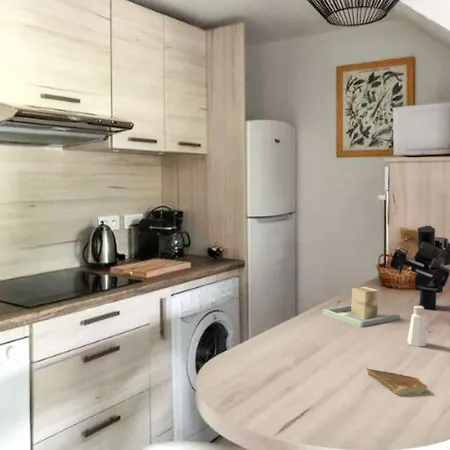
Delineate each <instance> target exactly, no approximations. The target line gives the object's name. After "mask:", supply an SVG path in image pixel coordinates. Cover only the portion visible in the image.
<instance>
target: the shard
mask: <svg viewBox="0 0 450 450" xmlns="http://www.w3.org/2000/svg"><path fill="white" fill-rule="evenodd" d="M366 370H367V371H366V372H367V375H368V376H369V377H371V378H372V379H375V380H376V381H377V382H378V383H381V384H382V385H384V386H385V387H386V388H388V389H389V390H390V391H392V392H393V393H394V394H396V395H397V396H403V395H404V396H405V395H411V394H413V395H414V393H417V394H424V393H425V392H426V390H427V389H428V385H427V384H426V383H424V382H422V381H421V380H420V378H417V377H414V376H413V377H412V376H408V375H404V374H400V373H395V372H388V371H382V370H377V369H371V368H366ZM423 392H424V393H423Z"/></svg>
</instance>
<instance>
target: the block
mask: <svg viewBox="0 0 450 450" xmlns="http://www.w3.org/2000/svg"><path fill="white" fill-rule="evenodd" d="M378 303H379V289H375V288H372V287H371V288H370V287H368V286H360V287H353V288H352V289H351V304H350V305H351V311H350V314H351V315H353V316H356V317H359V318H362V319H368V318H373V317H377V312H378Z"/></svg>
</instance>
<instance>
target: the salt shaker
mask: <svg viewBox="0 0 450 450" xmlns="http://www.w3.org/2000/svg"><path fill="white" fill-rule="evenodd" d="M424 310H425V308H424V307H423V306H418V305H414V306H413V314H411V318H410V322H409V330H408V334H407V340H406V341H407V342H406V343H407V344H408V345H410V346H413V347H426V346H427V344H428V341H427V340H428V339H427V323H426V322H427V321H426V319H427V318H426V315H425V314H424V312H425V311H424Z"/></svg>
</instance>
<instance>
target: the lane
mask: <svg viewBox="0 0 450 450" xmlns="http://www.w3.org/2000/svg"><path fill="white" fill-rule="evenodd" d="M349 311H350V312H351V304H349V305H343V306H337V307H331V308H326V309H325V308H324V309H322V314H323V315H325V316H328V317H330V318H334V319H336V320H340V321H343V322H345V323H347V324H351V325H354V326H356V327H360V328H362V327H368V326H373V325H377V324H381V323H389V322H391V321H398V320H400V318H401V317H400V314H398V313H397V314H392V315H387V314H385V313H381V312H378V311H377V317H373V318H368V319H362V318H359V317H356V316H353V315H351V313H348V312H349Z"/></svg>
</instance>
